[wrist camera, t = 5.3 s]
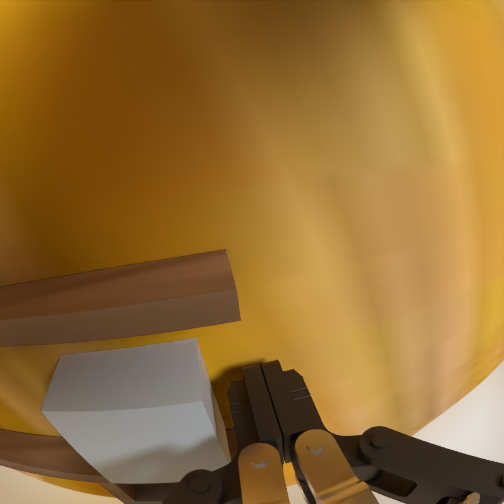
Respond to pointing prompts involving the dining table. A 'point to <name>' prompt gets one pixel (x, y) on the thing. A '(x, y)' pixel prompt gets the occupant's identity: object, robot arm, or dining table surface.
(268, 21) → the dining table surface
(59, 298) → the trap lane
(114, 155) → the dining table surface
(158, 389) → the block
